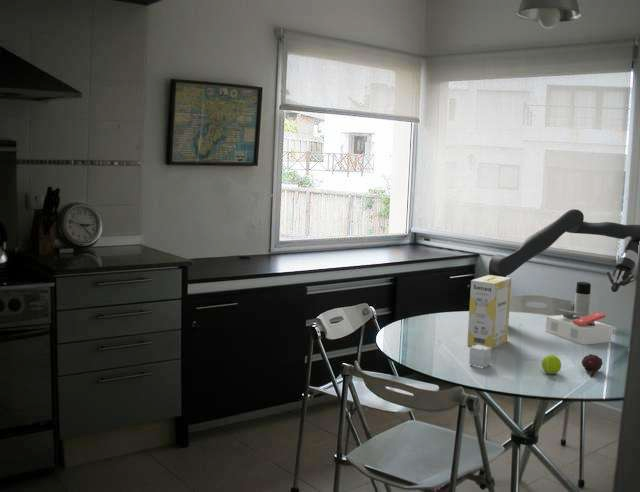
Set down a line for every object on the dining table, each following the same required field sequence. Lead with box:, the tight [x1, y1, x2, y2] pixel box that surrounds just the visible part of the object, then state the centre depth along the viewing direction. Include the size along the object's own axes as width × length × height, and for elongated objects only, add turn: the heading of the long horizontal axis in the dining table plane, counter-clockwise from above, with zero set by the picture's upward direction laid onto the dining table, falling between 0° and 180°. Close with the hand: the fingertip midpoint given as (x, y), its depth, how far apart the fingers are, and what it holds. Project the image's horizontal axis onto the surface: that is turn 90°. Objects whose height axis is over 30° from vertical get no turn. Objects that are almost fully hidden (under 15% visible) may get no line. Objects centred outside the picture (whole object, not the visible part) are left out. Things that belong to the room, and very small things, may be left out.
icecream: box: [581, 353, 603, 377], centre depth 275 cm, size 7×7×15 cm
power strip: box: [545, 313, 614, 346], centre depth 326 cm, size 16×24×8 cm
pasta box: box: [466, 274, 512, 350], centre depth 309 cm, size 18×10×28 cm, turn 144°
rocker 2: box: [573, 311, 606, 326], centre depth 320 cm, size 14×5×2 cm, turn 113°
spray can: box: [573, 281, 592, 317], centre depth 351 cm, size 7×7×20 cm
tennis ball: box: [541, 354, 562, 375], centre depth 271 cm, size 7×7×7 cm
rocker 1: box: [553, 307, 585, 317], centre depth 331 cm, size 14×5×2 cm, turn 114°
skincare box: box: [468, 344, 492, 368], centre depth 278 cm, size 6×6×7 cm
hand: (613, 290), depth 328 cm, fingers closed
